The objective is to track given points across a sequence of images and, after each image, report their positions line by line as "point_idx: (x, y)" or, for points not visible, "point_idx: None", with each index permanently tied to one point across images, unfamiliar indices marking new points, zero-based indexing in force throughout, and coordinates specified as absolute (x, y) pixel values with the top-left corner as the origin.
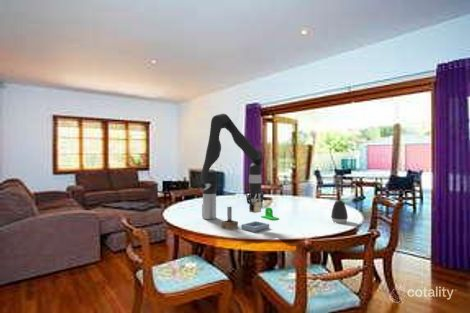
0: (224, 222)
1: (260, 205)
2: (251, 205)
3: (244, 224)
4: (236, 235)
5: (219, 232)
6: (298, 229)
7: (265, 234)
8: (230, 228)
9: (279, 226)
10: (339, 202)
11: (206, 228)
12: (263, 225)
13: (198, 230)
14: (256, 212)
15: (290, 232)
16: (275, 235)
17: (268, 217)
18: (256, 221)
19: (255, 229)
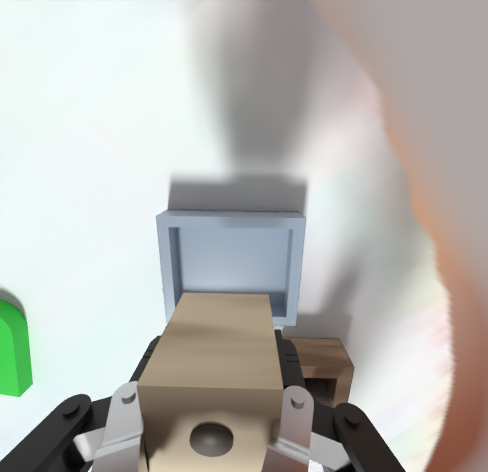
0: (347, 399)
1: (171, 340)
2: (305, 389)
3: (279, 316)
4: (405, 248)
5: (405, 341)
6: (14, 54)
7: (284, 143)
8: (334, 344)
9: (69, 205)
10: None
11: (380, 419)
12: (217, 218)
13: (430, 418)
14: (253, 295)
15: (123, 45)
16: (260, 76)
17: (2, 352)
18: (167, 316)
19: (298, 215)
